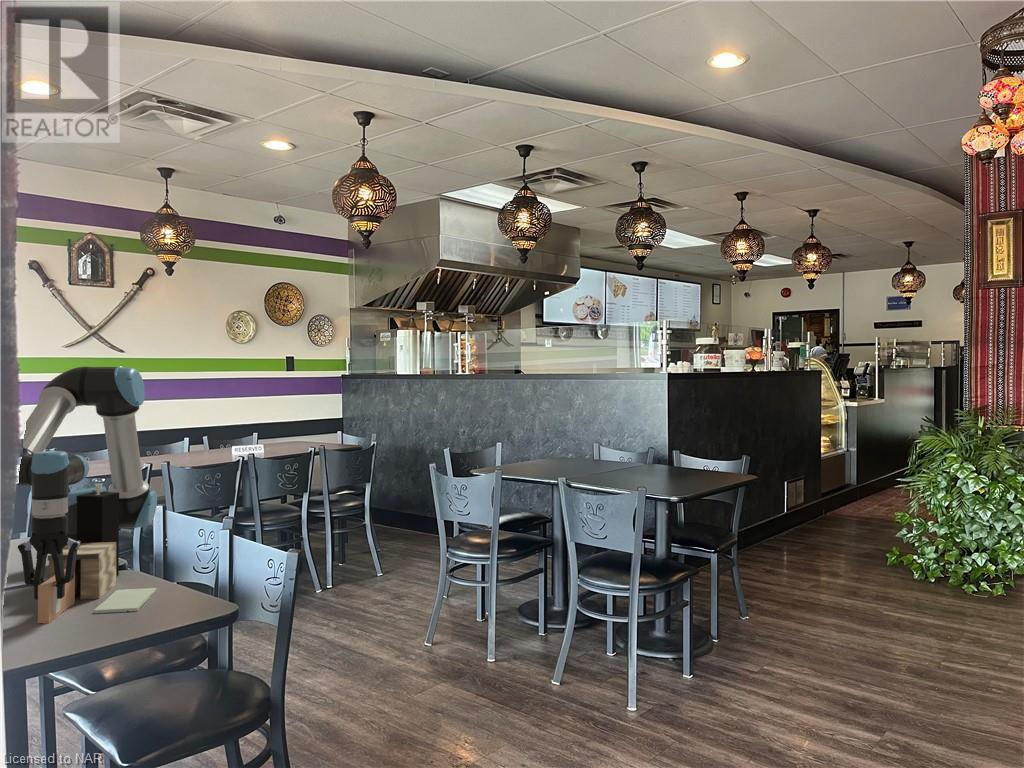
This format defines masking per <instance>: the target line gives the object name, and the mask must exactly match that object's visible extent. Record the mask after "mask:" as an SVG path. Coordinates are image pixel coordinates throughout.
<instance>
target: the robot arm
mask: <svg viewBox="0 0 1024 768" xmlns="http://www.w3.org/2000/svg"><path fill="white" fill-rule="evenodd" d="M145 392H146V388H145V382H144V379H143V377H142V375H141V373H140V371H138V370H137V369H136V368H133V367H124V366H78V367H77V366H76V367H73V368H70V369H68V370H66V371H64V372H62V373H60V374H59V375H57V376H56V377H54V378H53V379H51V380H50V381H49V382H48V383H46V385H45V386H44V387H43V389H42V390H41V391H40V393H39V396H38V403H37V405H36V406H35V407H34V409H33V411H32V412H31V414H30V415H29V416H28V418H27V419H26V421H25V422H26V430H25V434H24V439H23V455H22V459H21V464H20V471H19V484H18V486H17V487H27V486H28V487H29V486H30V487H31V516H33V517H32V518H31V521H30V522H31V526H30V527H31V535H30V538H29V540H28V541H25V542H23V543H20V544H19V545H17V550H18V551H19V553H20V554H21V561H22V570H23V576H24V583H25V585H30V586H33V592H34V593H33V594H34V595H33V596H34V597H33V598H34V600H35V601H38V586H39V585H40V584H42V583H43V582H45V580H44V578H45V571H46V564H47V559H48V556H49V555H52V558H53V563H54V571H55V579H56V584H55V586H53V614H56V613H57V612H59V611H60V610H61V599H62V598H63V597H64V595H65V583H68V582H70V581H71V580H73V578H74V572H75V564H76V557H77V550H78V548H79V546H80V545H81V541H77V496H79V495H83V494H88V493H92V492H96V488H95V486H94V487H89V488H83V489H78V490H73V491H70V492H69V486H70V485H71V486H72V485H76V484H78V483H80V482H81V481H83V480H84V479H85V478H87V476H88V475H89V472H90V464H89V462H88V461H87V459H86V458H85V457H84V456H83V455H81V454H68V452H66V451H64V450H46V449H47V447H48V445H49V444H50V442H51V440H52V439H53V437H54V436H55V434H56V432H57V431H58V429H59V427H60V426H61V424H62V423H63V422H64V419H65V418H66V416H67V415H68V414H70V413H72V412H73V411H74V410H75V409H76V408H77V407H82V406H87V407H88V406H90V407H91V406H94V407H95V412H96V414H97V415H98V416H99V417H101V418H102V420H103V425H104V426H103V427H104V434H105V435H104V436H105V440H106V441H105V442H106V447H107V456H108V462H109V463H108V464H109V469H110V470H109V471H110V475H111V484H112V485H111V486H109V488H108V490H107V488H106V487H105V486H102V488H101V492H119V529H132V528H133V529H137V528H146V527H148V526H150V525H151V524H152V522H153V520H154V518H155V515H156V510H157V505H158V494H157V491H156V490H152V489H151V490H150V486H149V485H150V484H149V483H148V482H147V481H145V480H143V479H144V477H143V472H142V471H143V470H142V463H141V461H142V460H141V455H140V446H139V438H138V428H137V423H136V414H137V412H138V411H139V410H140V406H141V405H143V404H144V403H145V398H146V394H145ZM45 450H46V451H45ZM67 545H68V548H69V552H68V558H67V565H66V572H64V565H63V557H62V555H63V550H62V549H63V548H64V547H65V546H67ZM32 548H33V549H35V551H36V557H35V558H36V562H35V565H36V566H35V568H34V561H33V554H32V553H33V552H32ZM48 554H49V555H48Z"/></svg>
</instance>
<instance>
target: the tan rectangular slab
mask: <svg viewBox="0 0 1024 768" xmlns="http://www.w3.org/2000/svg"><path fill="white" fill-rule="evenodd" d="M64 572H66V569H64ZM55 584H56V579H55V575H54V576H53V577H51V578H50V579H49V578H48V579H47V580H44V582H43V583H42V584H40V585H39V586H38V600H37V624H38V623H43V624H50V623H51V622H53V619H54V618H55V619H56V618H57V617H59V616H60V615H61V614H63V613H64V612H65V611H67V608H70V607H71V606H72V605H75V600H76V599H75V595H76V594H75V572H74V578H73V580H71V581H70V582H68V583H65V595H64V597H63V598H62V599H61V610H60V611H59V612H57V613H56V614H53V586H55ZM63 611H64V612H63ZM62 612H63V613H62ZM58 615H59V616H58ZM55 619H54V620H55ZM50 621H51V622H50ZM49 622H50V623H49Z"/></svg>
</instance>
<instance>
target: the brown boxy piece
mask: <svg viewBox="0 0 1024 768" xmlns="http://www.w3.org/2000/svg"><path fill="white" fill-rule="evenodd" d="M62 550H63V555H62V557H63V565H64V569H66V565H67V558H68V552H69V548H68V545H67V546H65V547H64V548H63V549H62ZM47 561H48V579H50V578H51V577H53V576H54V575H55V571H54V563H53V558H52V555H51V554H49V555H47ZM116 585H117V576H116V542H103V543H81V545H80V546H79V548H78V550H77V557H76V564H75V595H76V594H78V593H79V592H80V600H81V601H82V600H98V599H100V598H102V597H103V596H104V595H105V594H107V592H109V591H110V590H111V589H113V588H114V587H115V586H116Z"/></svg>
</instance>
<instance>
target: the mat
mask: <svg viewBox="0 0 1024 768" xmlns="http://www.w3.org/2000/svg"><path fill="white" fill-rule="evenodd" d="M156 590H157V591H158V587H149V588H146V587H145V588H129V589H125V588H124V589H116V590H115V591H114V592H113V593H112V594H111V595H109V596H108V597H107V598H106V599H105V600H104V601H103V602H102V603H100V604H99V605H98V606H97V607H96V608H94V609H93V614H106V613H110V614H111V613H127V611H129V612H138V611H139V610H140V609H141V608H142V607H143V606H144V605H145V604H146V603H147V602H146V601H147V600H148V599H149V600H150V599H151V597H152V596H153V595H154V594H155V593H156V592H157V591H156ZM155 591H156V592H155ZM154 592H155V593H154ZM153 593H154V594H153ZM152 594H153V595H152ZM151 595H152V596H151ZM150 596H151V597H150ZM149 600H148V601H149ZM145 602H146V603H145ZM144 603H145V604H144ZM143 604H144V605H143ZM142 605H143V606H142ZM141 606H142V607H141ZM140 607H141V608H140ZM139 608H140V609H139ZM138 609H139V610H138ZM137 610H138V611H137Z"/></svg>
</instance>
